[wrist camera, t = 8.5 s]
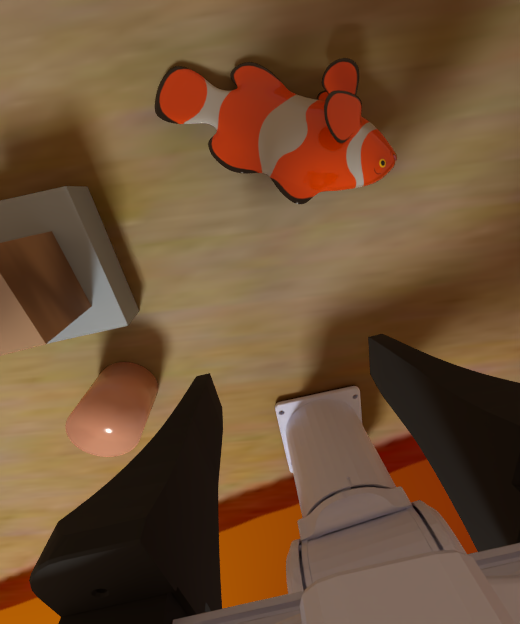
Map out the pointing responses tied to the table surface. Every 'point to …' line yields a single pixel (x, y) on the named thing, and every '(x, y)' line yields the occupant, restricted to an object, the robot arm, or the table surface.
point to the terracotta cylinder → (113, 410)
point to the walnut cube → (36, 292)
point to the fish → (283, 128)
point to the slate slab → (75, 252)
